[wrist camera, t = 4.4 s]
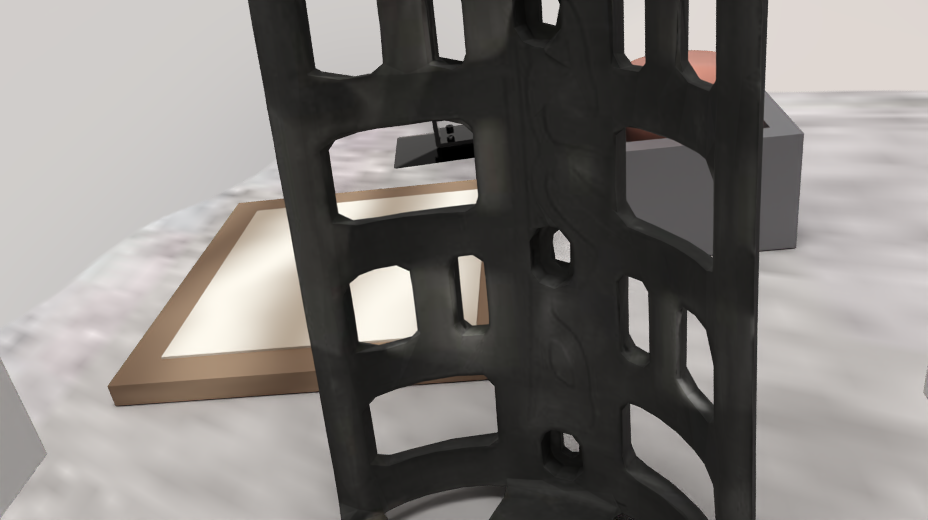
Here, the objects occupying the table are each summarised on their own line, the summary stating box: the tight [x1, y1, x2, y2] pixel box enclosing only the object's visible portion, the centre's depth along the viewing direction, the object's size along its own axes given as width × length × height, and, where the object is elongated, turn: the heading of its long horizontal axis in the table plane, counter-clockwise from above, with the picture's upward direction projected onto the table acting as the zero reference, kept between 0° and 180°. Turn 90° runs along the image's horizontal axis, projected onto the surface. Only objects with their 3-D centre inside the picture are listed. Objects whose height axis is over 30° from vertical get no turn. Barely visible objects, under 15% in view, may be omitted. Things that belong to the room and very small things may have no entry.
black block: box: [394, 120, 475, 168], centre depth 49 cm, size 12×7×5 cm, turn 93°
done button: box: [626, 50, 716, 142], centre depth 35 cm, size 5×5×3 cm
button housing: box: [626, 91, 804, 255], centre depth 36 cm, size 8×8×5 cm
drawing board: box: [108, 180, 489, 406], centre depth 36 cm, size 15×16×1 cm
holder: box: [248, 0, 768, 520], centre depth 17 cm, size 11×8×20 cm
